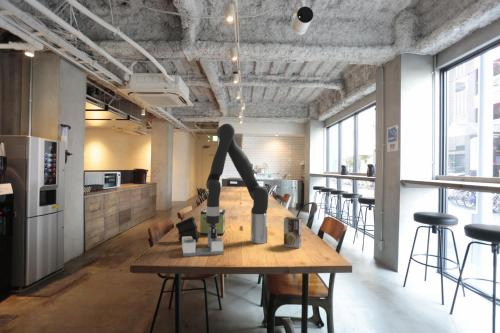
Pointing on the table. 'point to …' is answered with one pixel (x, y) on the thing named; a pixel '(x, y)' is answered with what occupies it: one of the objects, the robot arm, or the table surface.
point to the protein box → (220, 226)
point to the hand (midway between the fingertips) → (212, 244)
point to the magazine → (187, 229)
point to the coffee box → (292, 232)
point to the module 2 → (210, 238)
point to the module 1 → (186, 239)
